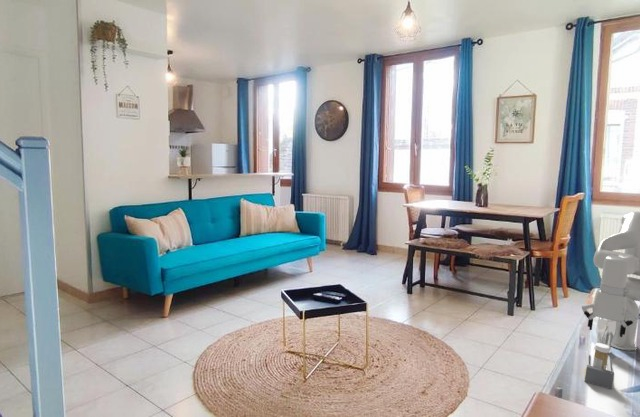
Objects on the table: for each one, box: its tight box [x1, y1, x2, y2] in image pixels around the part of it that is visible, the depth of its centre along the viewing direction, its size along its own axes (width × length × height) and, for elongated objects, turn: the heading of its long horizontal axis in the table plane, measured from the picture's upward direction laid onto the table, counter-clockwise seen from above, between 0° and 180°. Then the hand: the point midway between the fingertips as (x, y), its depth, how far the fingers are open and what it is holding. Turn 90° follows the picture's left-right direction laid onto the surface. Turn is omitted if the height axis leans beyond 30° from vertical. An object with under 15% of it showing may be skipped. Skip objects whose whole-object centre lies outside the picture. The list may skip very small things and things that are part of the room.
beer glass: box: [594, 317, 617, 355], centre depth 186 cm, size 7×7×15 cm
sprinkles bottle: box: [592, 343, 610, 370], centre depth 163 cm, size 5×5×14 cm
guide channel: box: [584, 350, 615, 390], centre depth 170 cm, size 27×8×6 cm, turn 148°
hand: (605, 332), depth 161 cm, fingers open, 9 cm apart
